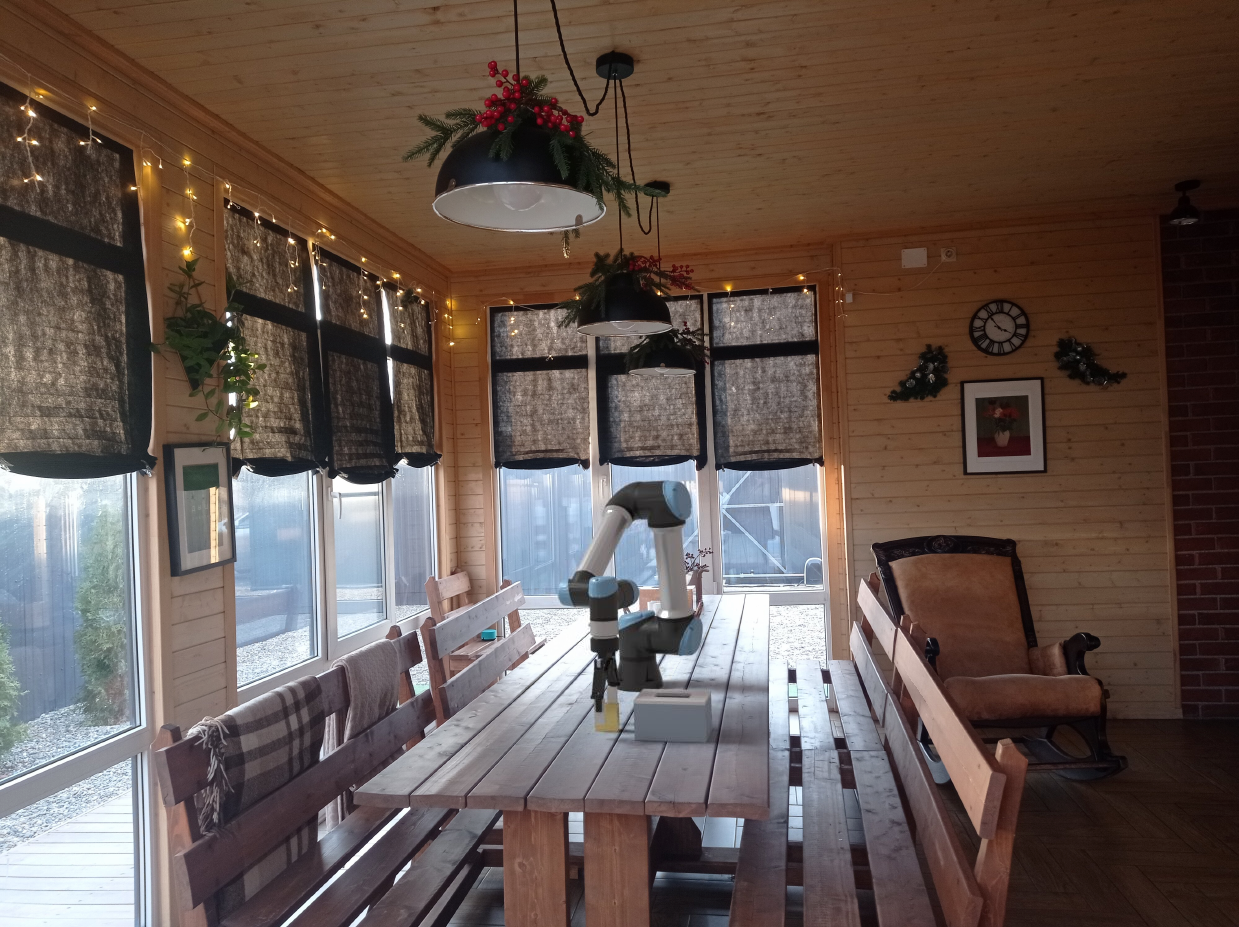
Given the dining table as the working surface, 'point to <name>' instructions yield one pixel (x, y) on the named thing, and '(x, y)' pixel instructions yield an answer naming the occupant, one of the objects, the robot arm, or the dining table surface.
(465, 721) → the dining table surface
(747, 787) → the dining table surface
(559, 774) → the dining table surface
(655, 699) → the coin box
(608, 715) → the gold metal bar
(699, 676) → the dining table surface
